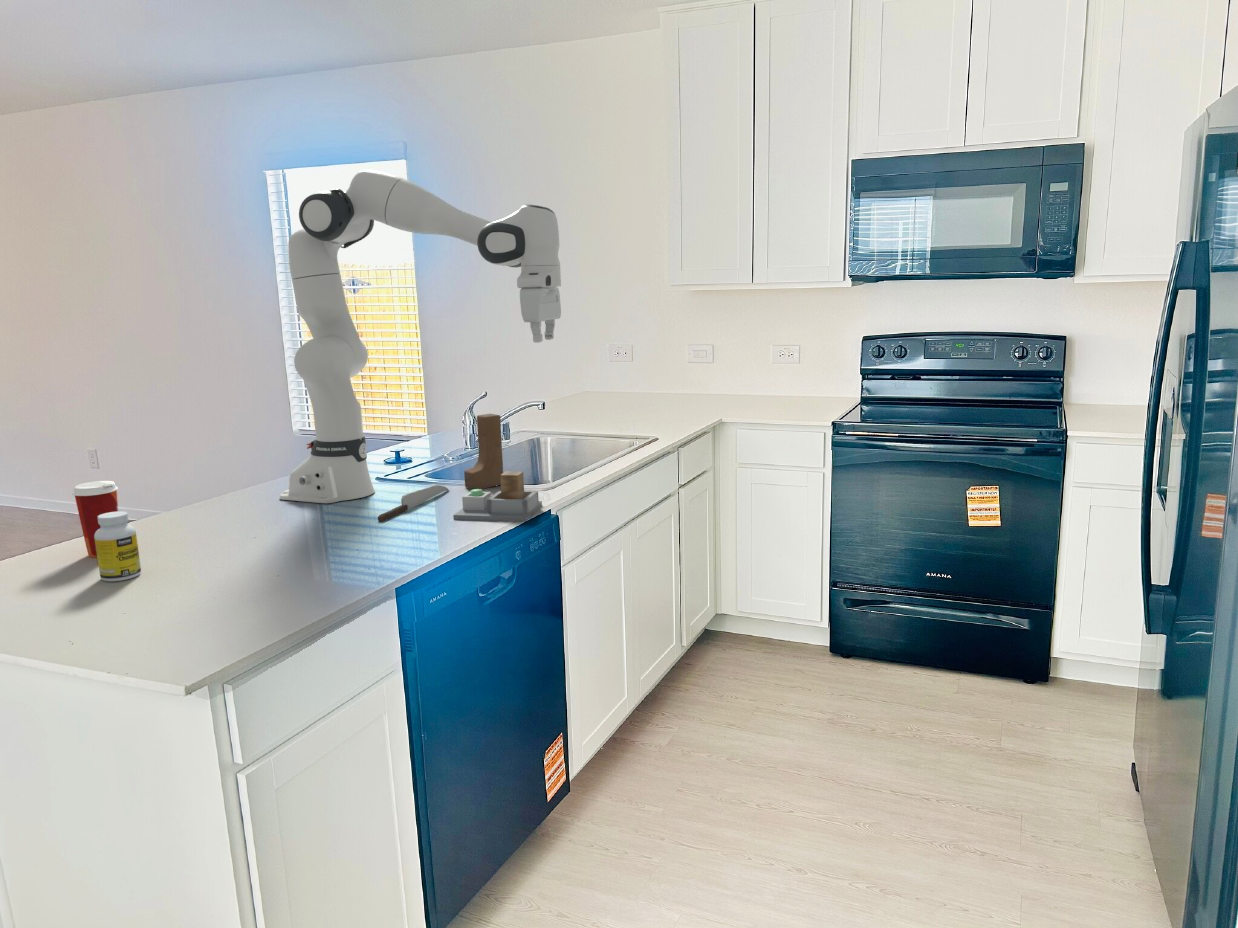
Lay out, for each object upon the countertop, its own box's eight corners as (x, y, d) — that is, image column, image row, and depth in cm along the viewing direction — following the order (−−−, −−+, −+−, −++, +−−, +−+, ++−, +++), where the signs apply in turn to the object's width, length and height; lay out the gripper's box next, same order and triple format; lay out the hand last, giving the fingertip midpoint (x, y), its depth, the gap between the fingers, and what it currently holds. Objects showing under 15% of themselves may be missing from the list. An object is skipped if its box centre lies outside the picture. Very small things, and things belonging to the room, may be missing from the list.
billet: (502, 510, 194) (500, 475, 192) (507, 505, 197) (506, 471, 196) (519, 510, 193) (517, 475, 191) (524, 506, 197) (523, 471, 195)
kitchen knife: (381, 507, 189) (449, 474, 217) (376, 507, 190) (446, 474, 217) (383, 526, 190) (451, 491, 218) (378, 526, 191) (447, 491, 218)
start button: (469, 504, 196) (468, 491, 195) (473, 501, 198) (473, 489, 197) (480, 505, 195) (480, 491, 194) (484, 502, 198) (484, 489, 197)
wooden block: (473, 490, 217) (469, 419, 213) (464, 487, 220) (460, 417, 217) (504, 484, 222) (500, 415, 219) (495, 482, 226) (491, 413, 222)
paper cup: (136, 549, 174) (126, 481, 171) (102, 561, 167) (91, 490, 164) (106, 546, 177) (96, 479, 174) (72, 557, 169) (61, 487, 167)
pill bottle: (113, 585, 153) (103, 521, 151) (93, 579, 156) (83, 516, 154) (149, 574, 158) (140, 512, 156) (129, 568, 162) (120, 508, 160)
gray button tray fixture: (453, 519, 191) (452, 501, 190) (476, 503, 204) (475, 486, 203) (523, 521, 188) (522, 503, 187) (541, 505, 201) (541, 488, 200)
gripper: (540, 279, 208) (543, 338, 211) (514, 279, 188) (517, 344, 191) (566, 279, 207) (568, 337, 210) (542, 279, 187) (545, 343, 190)
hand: (543, 341), depth 200 cm, fingers open, 8 cm apart
